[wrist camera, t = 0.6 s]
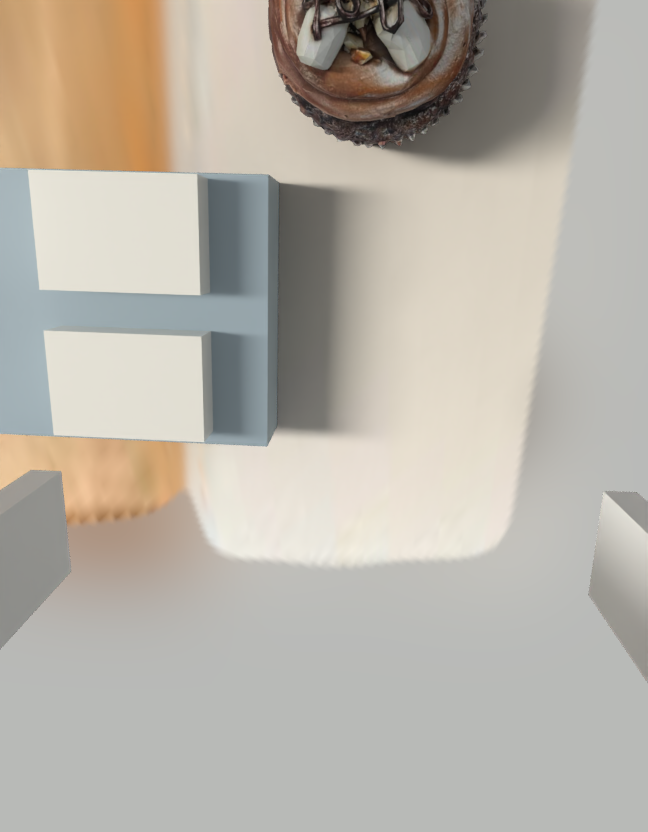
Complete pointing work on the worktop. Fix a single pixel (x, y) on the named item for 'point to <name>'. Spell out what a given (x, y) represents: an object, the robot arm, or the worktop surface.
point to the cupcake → (376, 62)
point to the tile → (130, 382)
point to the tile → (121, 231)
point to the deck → (154, 309)
